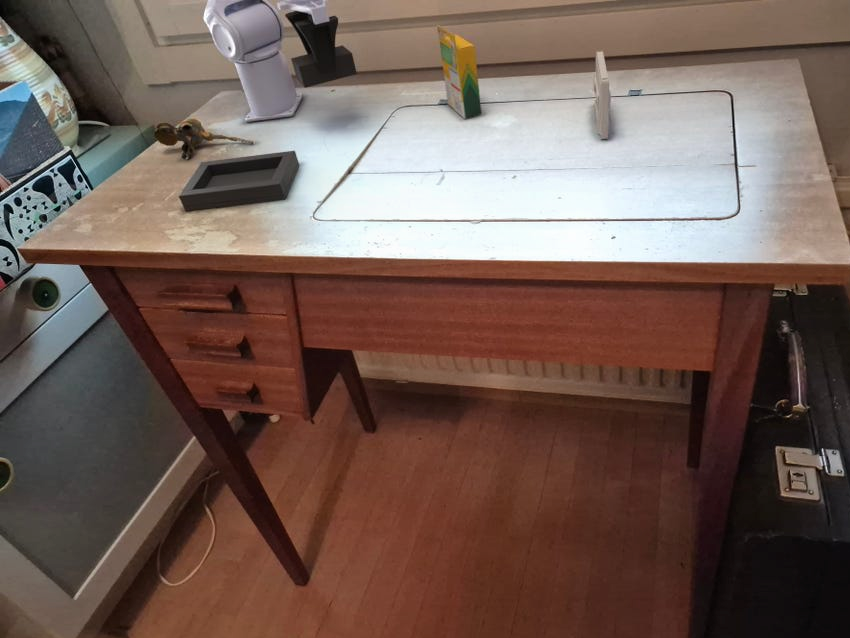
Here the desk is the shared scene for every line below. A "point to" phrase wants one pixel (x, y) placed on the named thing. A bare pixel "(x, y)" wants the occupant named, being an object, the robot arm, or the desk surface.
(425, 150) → the desk surface
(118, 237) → the desk surface
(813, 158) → the desk surface
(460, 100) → the crayon box
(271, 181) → the dark grey rectangular tray
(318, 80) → the dark grey block
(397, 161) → the desk surface
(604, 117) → the cassette
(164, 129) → the regulator
